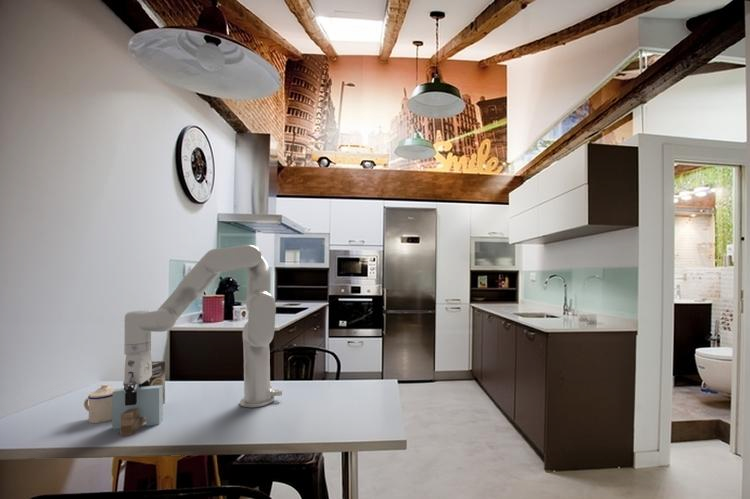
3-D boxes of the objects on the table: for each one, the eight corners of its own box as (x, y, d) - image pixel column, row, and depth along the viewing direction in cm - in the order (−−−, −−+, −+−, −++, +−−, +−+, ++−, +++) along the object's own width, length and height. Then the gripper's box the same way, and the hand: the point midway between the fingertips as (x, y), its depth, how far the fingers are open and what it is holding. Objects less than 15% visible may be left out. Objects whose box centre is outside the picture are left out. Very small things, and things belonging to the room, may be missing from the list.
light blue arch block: (162, 420, 123) (162, 385, 124) (159, 424, 120) (159, 387, 121) (117, 425, 121) (117, 388, 121) (112, 429, 118) (112, 391, 118)
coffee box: (146, 412, 131) (146, 367, 132) (131, 411, 133) (132, 367, 134) (165, 403, 140) (165, 361, 141) (151, 402, 142) (151, 360, 142)
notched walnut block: (143, 415, 128) (143, 397, 128) (152, 415, 129) (152, 396, 129) (120, 436, 112) (120, 414, 113) (131, 435, 113) (131, 413, 113)
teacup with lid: (126, 413, 131) (126, 380, 132) (105, 423, 122) (105, 388, 123) (95, 413, 132) (95, 380, 133) (72, 423, 123) (73, 389, 124)
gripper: (138, 352, 114) (138, 408, 113) (160, 342, 131) (160, 390, 130) (112, 354, 113) (111, 410, 112) (137, 343, 130) (137, 392, 129)
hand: (137, 399), depth 121 cm, fingers open, 9 cm apart
